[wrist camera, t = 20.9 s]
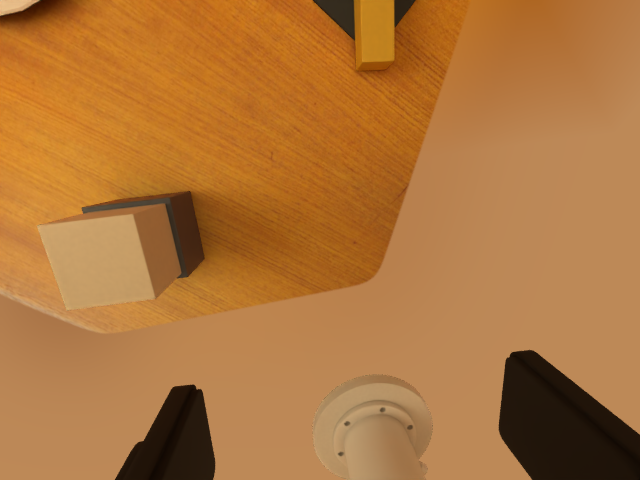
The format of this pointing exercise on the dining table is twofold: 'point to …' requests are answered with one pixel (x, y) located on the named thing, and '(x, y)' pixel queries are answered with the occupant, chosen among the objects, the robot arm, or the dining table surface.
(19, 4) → the plate
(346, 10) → the mat
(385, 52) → the bar
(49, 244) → the tower
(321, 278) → the dining table surface
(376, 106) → the dining table surface
